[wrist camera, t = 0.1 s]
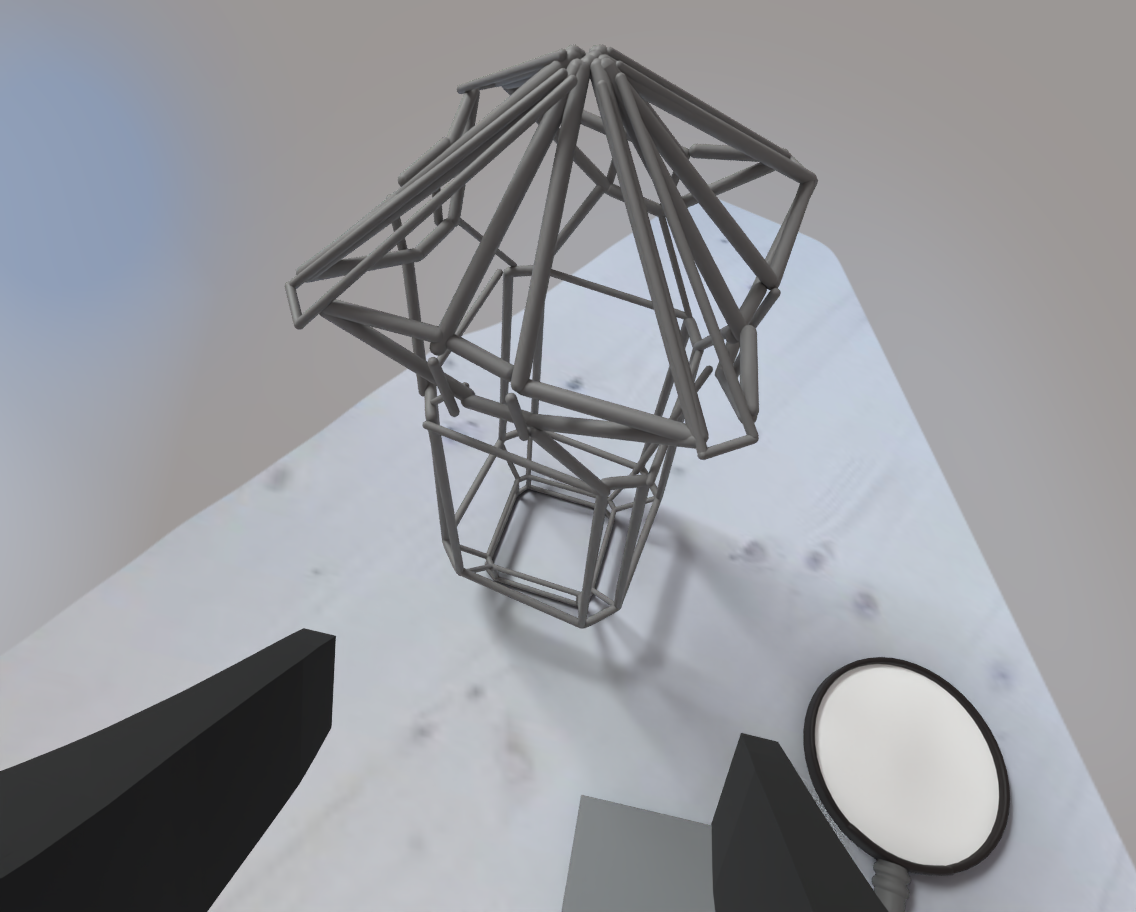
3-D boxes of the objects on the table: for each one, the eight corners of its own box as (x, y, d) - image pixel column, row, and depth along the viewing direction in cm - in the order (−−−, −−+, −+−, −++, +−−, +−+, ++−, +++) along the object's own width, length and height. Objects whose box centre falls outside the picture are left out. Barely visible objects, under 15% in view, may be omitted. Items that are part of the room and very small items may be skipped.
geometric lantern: (504, 435, 51) (460, -94, 21) (677, 497, 49) (904, 3, 19) (415, 600, 43) (149, 135, 13) (617, 683, 41) (838, 346, 11)
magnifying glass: (742, 1051, 32) (753, 1066, 30) (816, 636, 44) (828, 628, 42) (984, 1178, 30) (1013, 1202, 28) (993, 704, 42) (1014, 699, 40)
